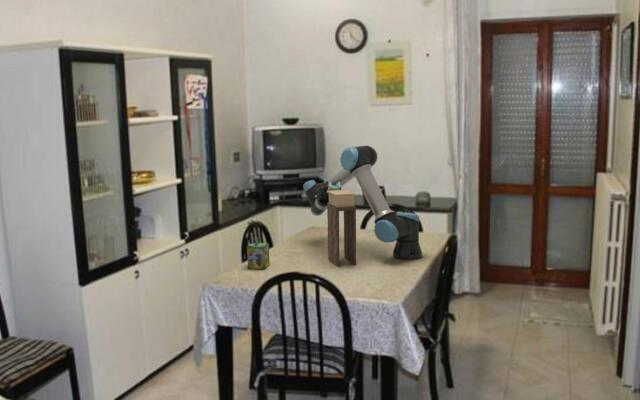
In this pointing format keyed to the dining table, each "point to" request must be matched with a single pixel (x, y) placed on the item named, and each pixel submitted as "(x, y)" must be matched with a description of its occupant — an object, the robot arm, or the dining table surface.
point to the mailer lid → (339, 191)
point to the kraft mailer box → (341, 200)
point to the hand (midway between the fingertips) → (335, 184)
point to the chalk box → (258, 255)
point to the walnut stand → (348, 233)
